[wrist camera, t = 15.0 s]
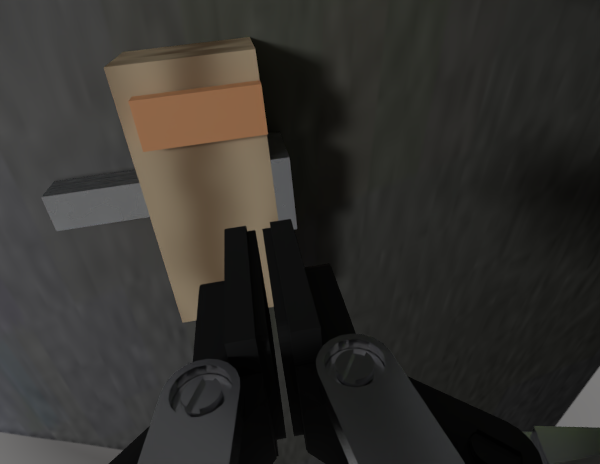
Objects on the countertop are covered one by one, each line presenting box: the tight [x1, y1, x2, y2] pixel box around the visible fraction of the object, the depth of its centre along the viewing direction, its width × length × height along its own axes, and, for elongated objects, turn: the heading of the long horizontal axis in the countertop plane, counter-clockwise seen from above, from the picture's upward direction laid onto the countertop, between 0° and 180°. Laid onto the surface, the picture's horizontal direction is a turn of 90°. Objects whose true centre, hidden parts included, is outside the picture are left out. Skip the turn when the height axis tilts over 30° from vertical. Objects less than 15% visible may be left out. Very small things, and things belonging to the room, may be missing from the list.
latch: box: [128, 80, 268, 152], centre depth 24 cm, size 7×3×1 cm, turn 95°
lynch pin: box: [41, 132, 297, 231], centre depth 30 cm, size 16×5×5 cm, turn 95°
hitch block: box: [104, 37, 278, 322], centre depth 30 cm, size 8×18×5 cm, turn 5°
